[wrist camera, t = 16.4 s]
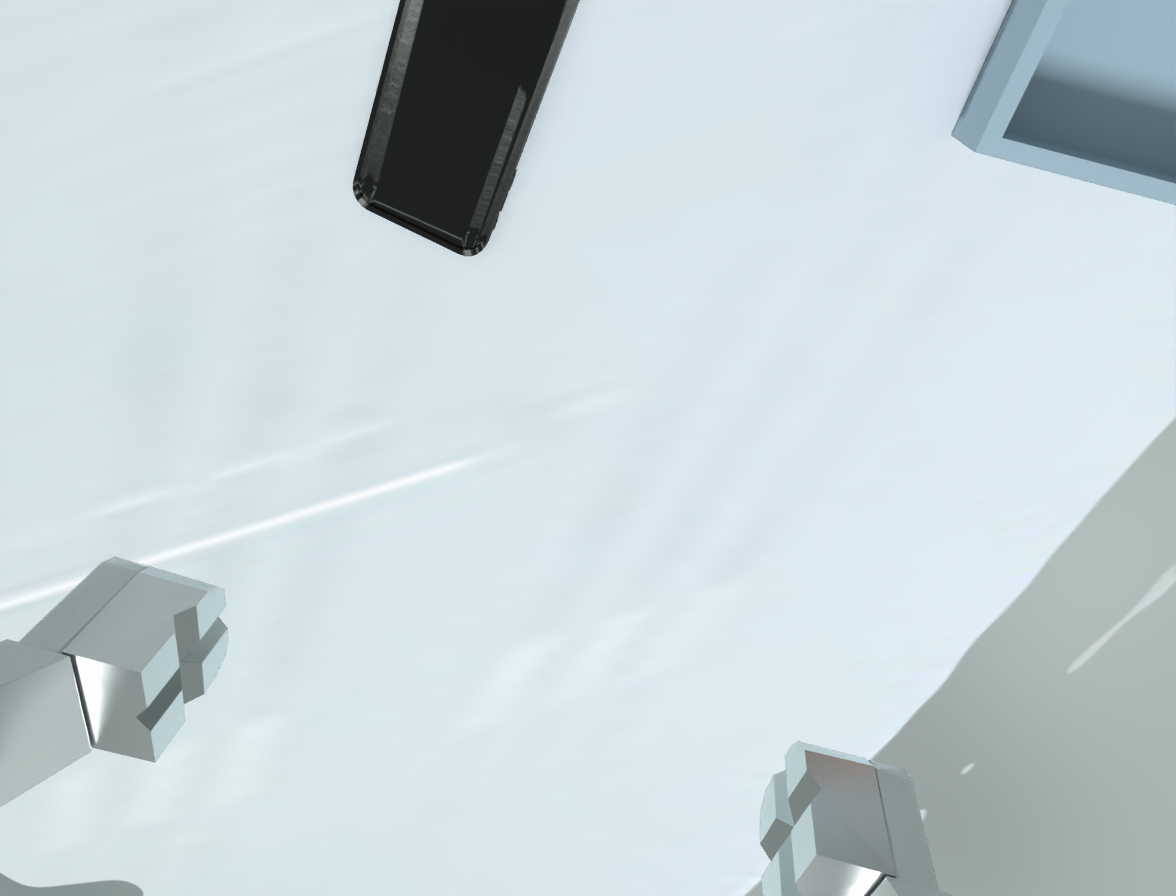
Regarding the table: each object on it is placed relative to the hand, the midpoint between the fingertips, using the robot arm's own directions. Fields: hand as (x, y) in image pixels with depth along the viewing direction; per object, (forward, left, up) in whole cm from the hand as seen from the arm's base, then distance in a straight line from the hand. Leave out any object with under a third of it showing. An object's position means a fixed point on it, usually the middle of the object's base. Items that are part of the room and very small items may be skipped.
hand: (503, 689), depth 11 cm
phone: (-8, -7, -35) cm, 36 cm away
